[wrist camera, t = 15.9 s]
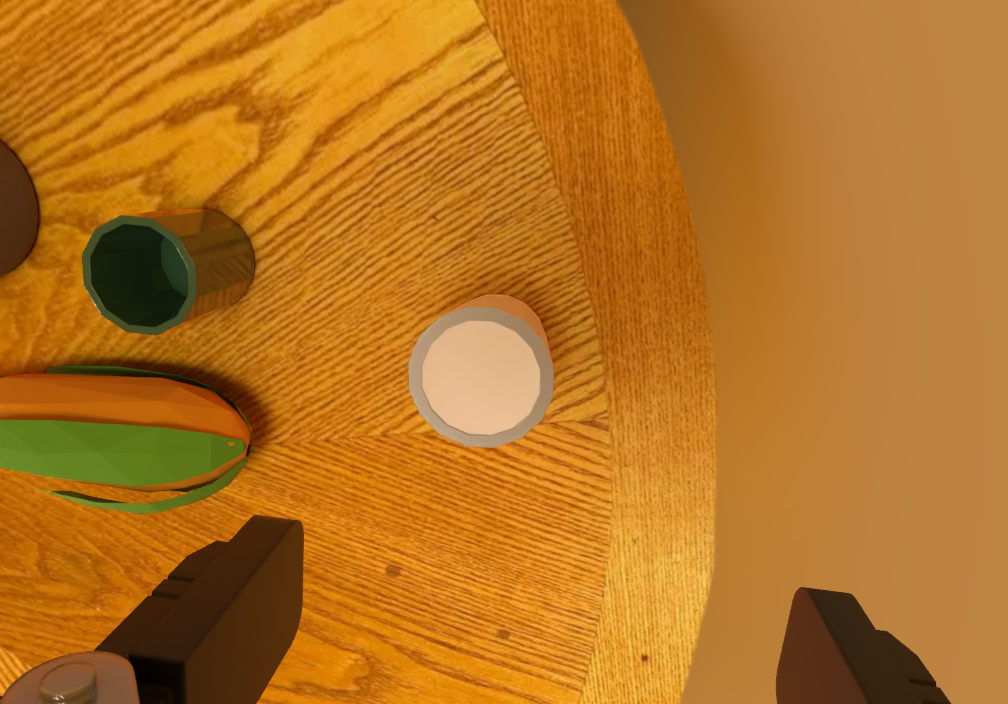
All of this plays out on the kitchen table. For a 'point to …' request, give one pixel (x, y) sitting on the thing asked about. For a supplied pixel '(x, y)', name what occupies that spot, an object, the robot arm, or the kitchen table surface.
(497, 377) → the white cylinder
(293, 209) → the kitchen table surface
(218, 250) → the green faceted cup
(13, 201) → the mug
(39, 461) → the corn
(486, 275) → the kitchen table surface
